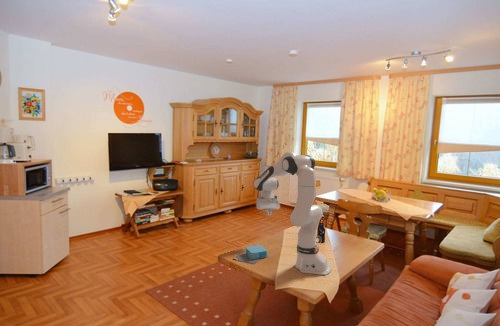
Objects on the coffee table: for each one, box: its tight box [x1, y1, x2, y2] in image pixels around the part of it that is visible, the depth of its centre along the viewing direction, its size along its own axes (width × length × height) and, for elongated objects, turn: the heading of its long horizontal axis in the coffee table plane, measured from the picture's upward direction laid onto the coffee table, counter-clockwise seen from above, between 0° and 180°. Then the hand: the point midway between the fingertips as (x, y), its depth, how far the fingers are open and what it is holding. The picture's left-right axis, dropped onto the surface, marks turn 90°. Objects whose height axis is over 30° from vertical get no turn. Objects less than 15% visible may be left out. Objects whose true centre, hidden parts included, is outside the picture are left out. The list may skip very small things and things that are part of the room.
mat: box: [234, 252, 262, 265], centre depth 209 cm, size 17×11×1 cm, turn 63°
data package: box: [245, 244, 268, 259], centre depth 213 cm, size 12×4×12 cm
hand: (269, 215), depth 229 cm, fingers closed
